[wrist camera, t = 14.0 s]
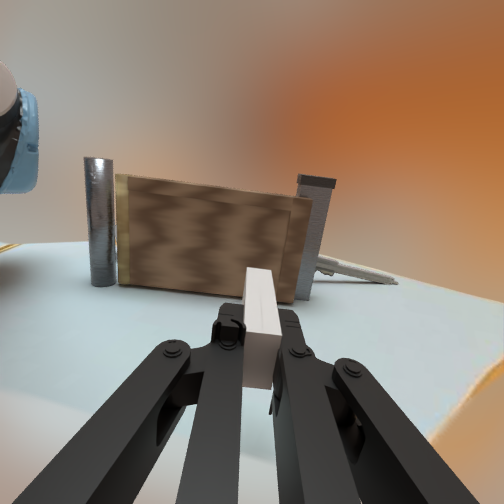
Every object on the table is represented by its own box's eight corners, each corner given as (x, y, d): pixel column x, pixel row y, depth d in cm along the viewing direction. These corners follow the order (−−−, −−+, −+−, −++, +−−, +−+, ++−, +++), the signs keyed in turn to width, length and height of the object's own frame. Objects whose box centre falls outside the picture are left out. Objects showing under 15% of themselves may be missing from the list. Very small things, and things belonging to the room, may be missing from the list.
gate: (115, 283, 36) (112, 174, 32) (122, 277, 38) (119, 173, 34) (293, 303, 37) (313, 200, 33) (290, 296, 39) (309, 198, 35)
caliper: (293, 284, 46) (300, 247, 44) (291, 281, 47) (298, 245, 45) (398, 285, 51) (408, 253, 49) (393, 283, 52) (404, 251, 50)
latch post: (280, 298, 39) (301, 174, 34) (278, 289, 42) (298, 173, 37) (310, 301, 40) (336, 179, 34) (306, 292, 42) (330, 177, 37)
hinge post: (86, 285, 36) (77, 156, 31) (98, 276, 39) (92, 157, 34) (109, 288, 36) (104, 160, 31) (120, 278, 39) (117, 160, 34)
